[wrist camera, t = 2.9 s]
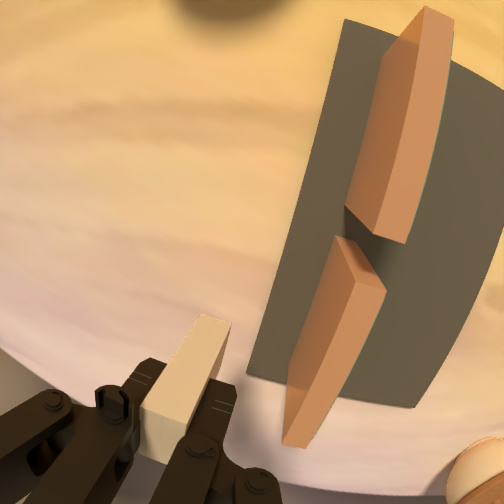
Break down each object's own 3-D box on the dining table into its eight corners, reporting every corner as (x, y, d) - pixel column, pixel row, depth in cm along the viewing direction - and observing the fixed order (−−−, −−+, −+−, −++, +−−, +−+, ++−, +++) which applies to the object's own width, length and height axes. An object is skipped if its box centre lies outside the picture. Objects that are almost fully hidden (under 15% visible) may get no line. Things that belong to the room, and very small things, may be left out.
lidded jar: (420, 468, 26) (436, 533, 17) (498, 409, 22) (531, 471, 13) (457, 486, 26) (472, 538, 17) (522, 437, 23) (547, 486, 14)
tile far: (288, 363, 23) (281, 444, 15) (334, 235, 20) (355, 281, 12) (309, 368, 23) (309, 449, 15) (358, 242, 20) (391, 292, 12)
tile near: (344, 204, 19) (372, 233, 11) (381, 56, 16) (424, 5, 8) (368, 212, 19) (409, 245, 11) (405, 65, 16) (458, 21, 8)
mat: (247, 368, 24) (245, 373, 23) (343, 22, 16) (344, 18, 16) (413, 403, 23) (414, 407, 23) (524, 107, 15) (528, 107, 15)
